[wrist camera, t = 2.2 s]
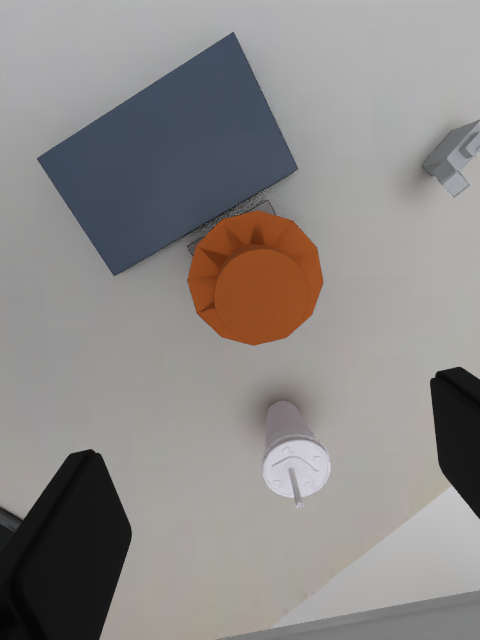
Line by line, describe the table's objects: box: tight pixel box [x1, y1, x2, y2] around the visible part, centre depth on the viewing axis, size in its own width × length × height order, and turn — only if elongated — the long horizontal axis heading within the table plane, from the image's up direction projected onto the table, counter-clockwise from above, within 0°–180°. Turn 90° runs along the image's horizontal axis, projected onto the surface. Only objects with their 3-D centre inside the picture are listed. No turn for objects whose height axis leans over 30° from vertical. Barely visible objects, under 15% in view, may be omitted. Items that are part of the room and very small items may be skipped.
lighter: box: [422, 120, 480, 198], centre depth 31 cm, size 7×2×8 cm, turn 140°
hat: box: [188, 210, 323, 345], centre depth 24 cm, size 10×10×6 cm
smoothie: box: [261, 401, 331, 509], centre depth 36 cm, size 6×6×14 cm
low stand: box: [37, 32, 298, 276], centre depth 34 cm, size 20×12×2 cm, turn 119°
